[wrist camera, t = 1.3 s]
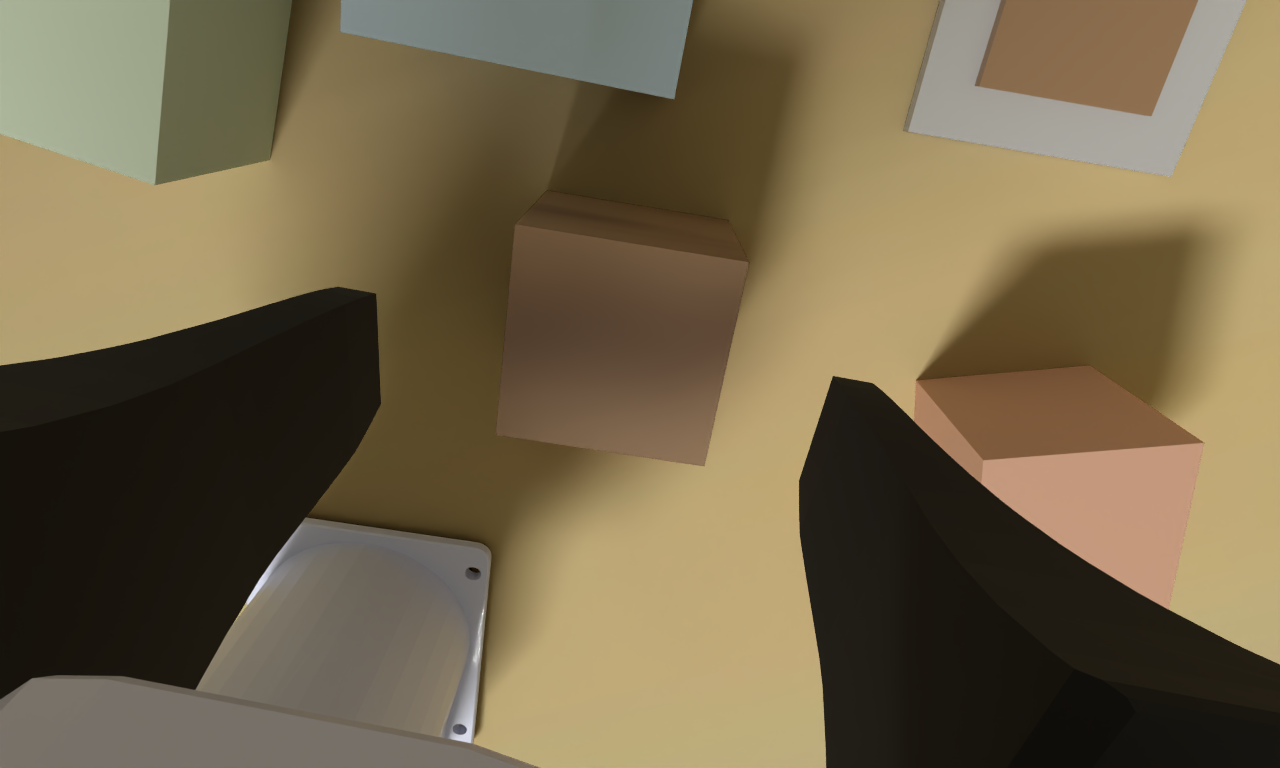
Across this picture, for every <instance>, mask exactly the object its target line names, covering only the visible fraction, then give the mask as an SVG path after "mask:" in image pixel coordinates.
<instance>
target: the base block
mask: <svg viewBox="0 0 1280 768" xmlns="http://www.w3.org/2000/svg"><path fill="white" fill-rule="evenodd" d="M692 4H693V0H341V28H340V32H343V33H348V34H353V35H358V36H362V37H367V38H372V39H377V40H382V41H387V42H392V43H397V44H402V45H407V46H412V47H417V48H422V49H427V50H432V51H437V52H442V53H447V54H452V55H457V56H462V57H467V58H471V59H476V60H481V61H486V62H491V63H496V64H501V65H506V66H511V67H516V68H521V69H526V70H531V71H536V72H541V73H546V74H551V75H556V76H561V77H566V78H571V79H576V80H580V81H585V82H590V83H595V84H600V85H605V86H610V87H615V88H620V89H625V90H630V91H635V92H640V93H645V94H650V95H655V96H660V97H665V98H670V99H674V98H675V92H676V87H677V82H678V77H679V71H680V66H681V61H682V56H683V51H684V45H685V40H686V35H687V30H688V24H689V19H690V14H691V9H692Z"/></svg>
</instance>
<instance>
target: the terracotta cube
mask: <svg viewBox="0 0 1280 768" xmlns="http://www.w3.org/2000/svg"><path fill="white" fill-rule="evenodd" d="M914 422H915V423H916V424H917V425H918V426H919V427H920V428H921V429H922V430H923V431H924V432H925V433H926V434H927V435H928V436H929V437H930V438H932V439H933V440H934V441H935V442H936V443H937V444H938V445H939V446H940V447H941V448H942V449H943V450H944V451H945V452H946V453H947V454H948V455H950V456H951V457H952V458H953V459H954V460H955V461H956V462H957V463H958V464H959V465H960V466H962V467H963V468H964V469H965V470H966V471H967V472H968V473H969V474H971V475H972V476H973V477H974V478H975V479H976V480H978V481H979V482H980V483H981V484H982V485H984V486H985V487H986V488H987V489H988V490H989V491H991V492H992V493H993V494H994V495H995V496H997V497H998V498H999V499H1000V500H1001V501H1003V502H1004V503H1005V504H1006V505H1008V506H1009V507H1010V508H1012V509H1013V510H1014V511H1015V512H1017V513H1018V514H1019V515H1021V516H1022V517H1023V518H1025V519H1026V520H1028V521H1029V522H1030V523H1032V524H1033V525H1035V526H1036V527H1037V528H1039V529H1040V530H1041V531H1043V532H1044V533H1046V534H1047V535H1048V536H1050V537H1051V538H1053V539H1054V540H1055V541H1057V542H1058V543H1060V544H1061V545H1062V546H1064V547H1065V548H1067V549H1069V550H1070V551H1072V552H1073V553H1075V554H1076V555H1078V556H1079V557H1081V558H1082V559H1084V560H1085V561H1087V562H1088V563H1090V564H1092V565H1093V566H1095V567H1097V568H1098V569H1100V570H1102V571H1103V572H1105V573H1106V574H1108V575H1110V576H1111V577H1113V578H1115V579H1116V580H1118V581H1120V582H1121V583H1123V584H1124V585H1126V586H1128V587H1129V588H1131V589H1133V590H1134V591H1136V592H1138V593H1140V594H1141V595H1143V596H1145V597H1147V598H1149V599H1150V600H1152V601H1154V602H1156V603H1158V604H1159V605H1161V606H1163V607H1165V608H1167V609H1168V610H1169V606H1170V601H1171V597H1172V592H1173V587H1174V583H1175V578H1176V573H1177V569H1178V564H1179V559H1180V555H1181V550H1182V545H1183V541H1184V536H1185V531H1186V527H1187V522H1188V517H1189V513H1190V508H1191V503H1192V499H1193V494H1194V489H1195V484H1196V480H1197V475H1198V470H1199V466H1200V461H1201V456H1202V452H1203V447H1204V442H1202V441H1201V440H1199V439H1198V438H1196V437H1195V436H1193V435H1192V434H1190V433H1189V432H1187V431H1186V430H1185V429H1183V428H1182V427H1180V426H1179V425H1177V424H1176V423H1174V422H1173V421H1171V420H1170V419H1168V418H1167V417H1165V416H1164V415H1162V414H1161V413H1159V412H1158V411H1156V410H1155V409H1153V408H1152V407H1150V406H1149V405H1148V404H1146V403H1145V402H1143V401H1142V400H1140V399H1139V398H1137V397H1136V396H1134V395H1133V394H1131V393H1130V392H1128V391H1127V390H1125V389H1124V388H1122V387H1121V386H1119V385H1118V384H1116V383H1115V382H1113V381H1112V380H1110V379H1109V378H1108V377H1106V376H1105V375H1103V374H1102V373H1100V372H1099V371H1097V370H1096V369H1094V368H1093V367H1091V366H1090V365H1088V366H1076V367H1065V368H1053V369H1041V370H1030V371H1018V372H1007V373H995V374H984V375H972V376H960V377H949V378H937V379H926V380H916V391H915V414H914Z"/></svg>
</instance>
